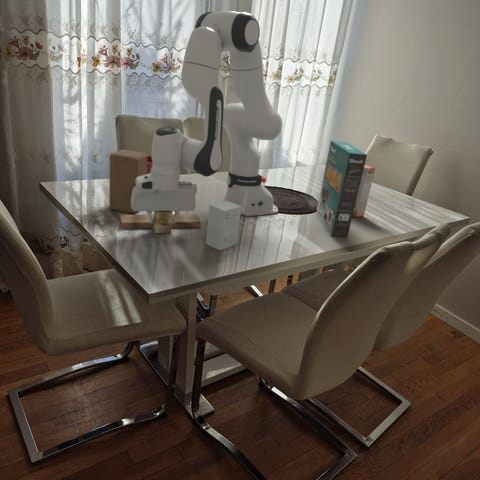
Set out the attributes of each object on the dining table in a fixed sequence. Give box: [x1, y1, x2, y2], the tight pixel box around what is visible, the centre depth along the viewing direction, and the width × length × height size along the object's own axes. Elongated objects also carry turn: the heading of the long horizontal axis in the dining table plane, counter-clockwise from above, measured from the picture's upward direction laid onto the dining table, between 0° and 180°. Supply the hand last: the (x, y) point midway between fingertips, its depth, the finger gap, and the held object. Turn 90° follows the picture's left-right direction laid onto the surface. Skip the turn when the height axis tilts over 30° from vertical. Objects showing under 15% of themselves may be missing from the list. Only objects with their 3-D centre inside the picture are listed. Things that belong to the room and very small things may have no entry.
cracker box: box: [352, 164, 376, 218], centre depth 177 cm, size 14×6×21 cm, turn 38°
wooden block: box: [109, 149, 148, 215], centre depth 149 cm, size 10×10×20 cm
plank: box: [119, 213, 202, 230], centre depth 143 cm, size 26×7×2 cm, turn 109°
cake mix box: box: [315, 140, 368, 239], centre depth 156 cm, size 22×6×30 cm, turn 5°
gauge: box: [153, 211, 174, 234], centre depth 138 cm, size 5×9×7 cm, turn 20°
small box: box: [205, 200, 242, 252], centre depth 131 cm, size 8×6×13 cm
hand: (162, 223), depth 137 cm, fingers closed on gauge, 5 cm apart
